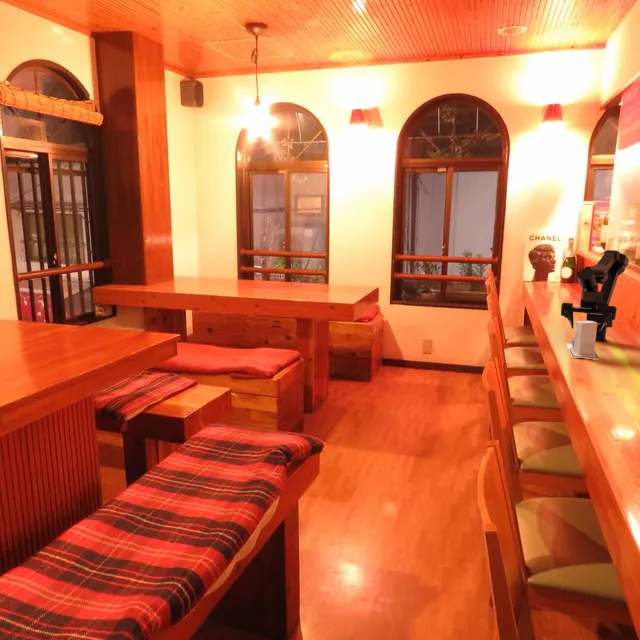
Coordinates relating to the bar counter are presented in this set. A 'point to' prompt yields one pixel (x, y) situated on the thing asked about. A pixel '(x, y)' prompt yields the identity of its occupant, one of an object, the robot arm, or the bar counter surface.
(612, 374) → the bar counter surface
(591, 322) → the skincare box
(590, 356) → the picture board
